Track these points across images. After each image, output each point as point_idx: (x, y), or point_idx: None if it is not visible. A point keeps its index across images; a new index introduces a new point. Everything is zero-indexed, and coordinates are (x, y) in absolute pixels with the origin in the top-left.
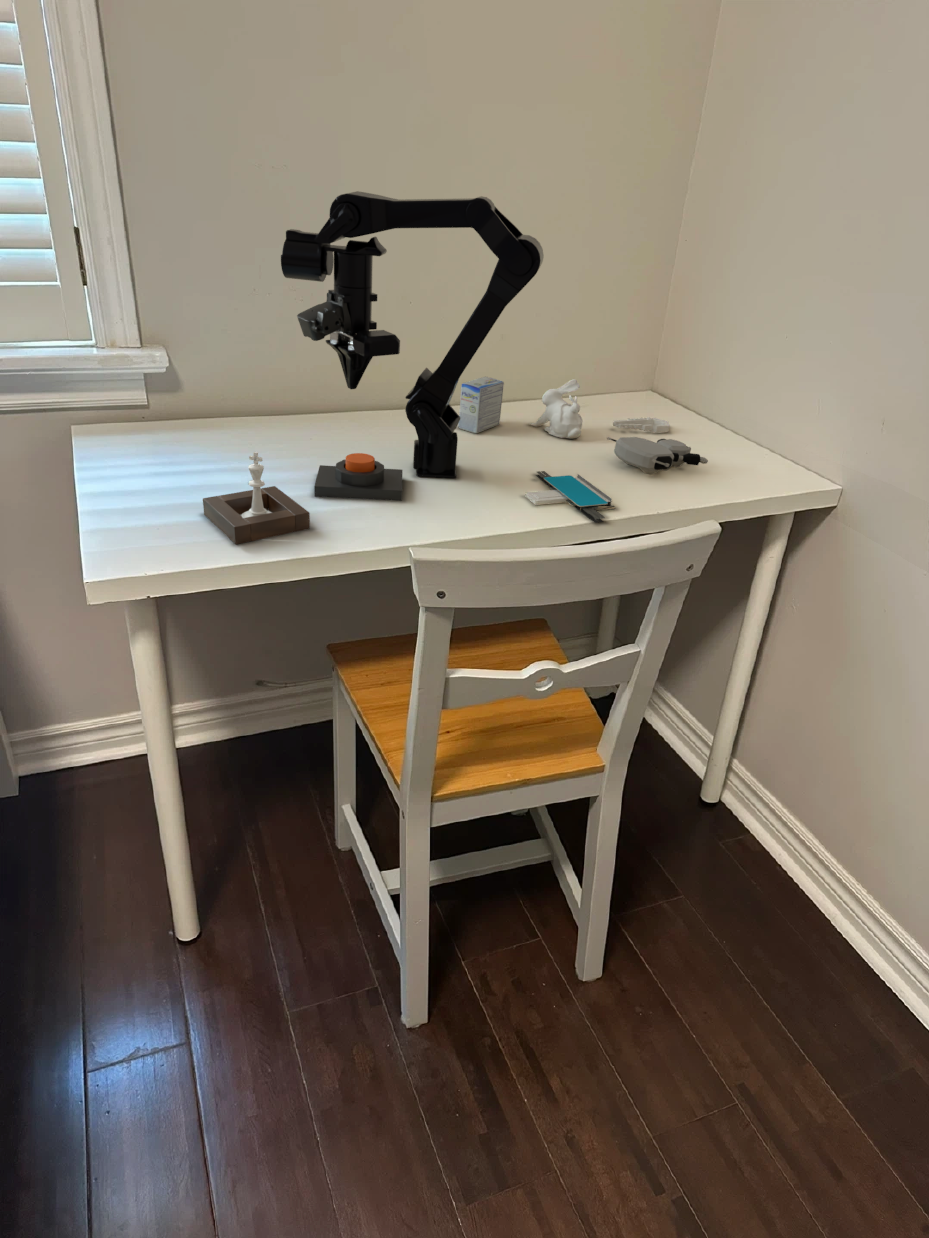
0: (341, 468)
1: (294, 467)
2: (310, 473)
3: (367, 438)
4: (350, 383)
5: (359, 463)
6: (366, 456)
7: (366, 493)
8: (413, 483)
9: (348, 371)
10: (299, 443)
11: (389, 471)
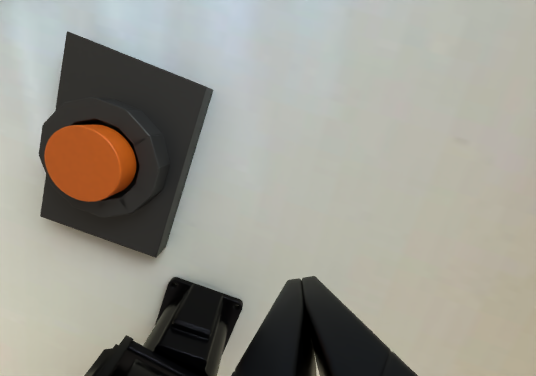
0: (85, 110)
1: (277, 42)
2: (231, 71)
3: (416, 264)
4: (277, 299)
5: (45, 150)
6: (92, 184)
7: None
8: (145, 259)
9: (270, 354)
10: (441, 102)
11: (147, 229)
